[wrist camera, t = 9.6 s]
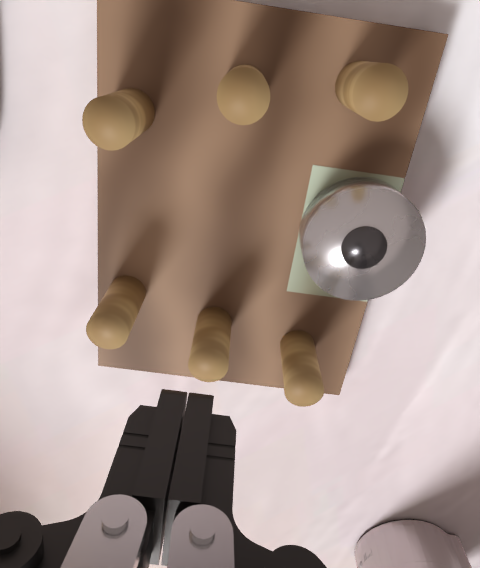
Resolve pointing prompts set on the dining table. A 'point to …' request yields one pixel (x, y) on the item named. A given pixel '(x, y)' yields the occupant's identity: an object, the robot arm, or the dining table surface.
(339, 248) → the pot lid
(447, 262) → the dining table surface
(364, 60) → the board
